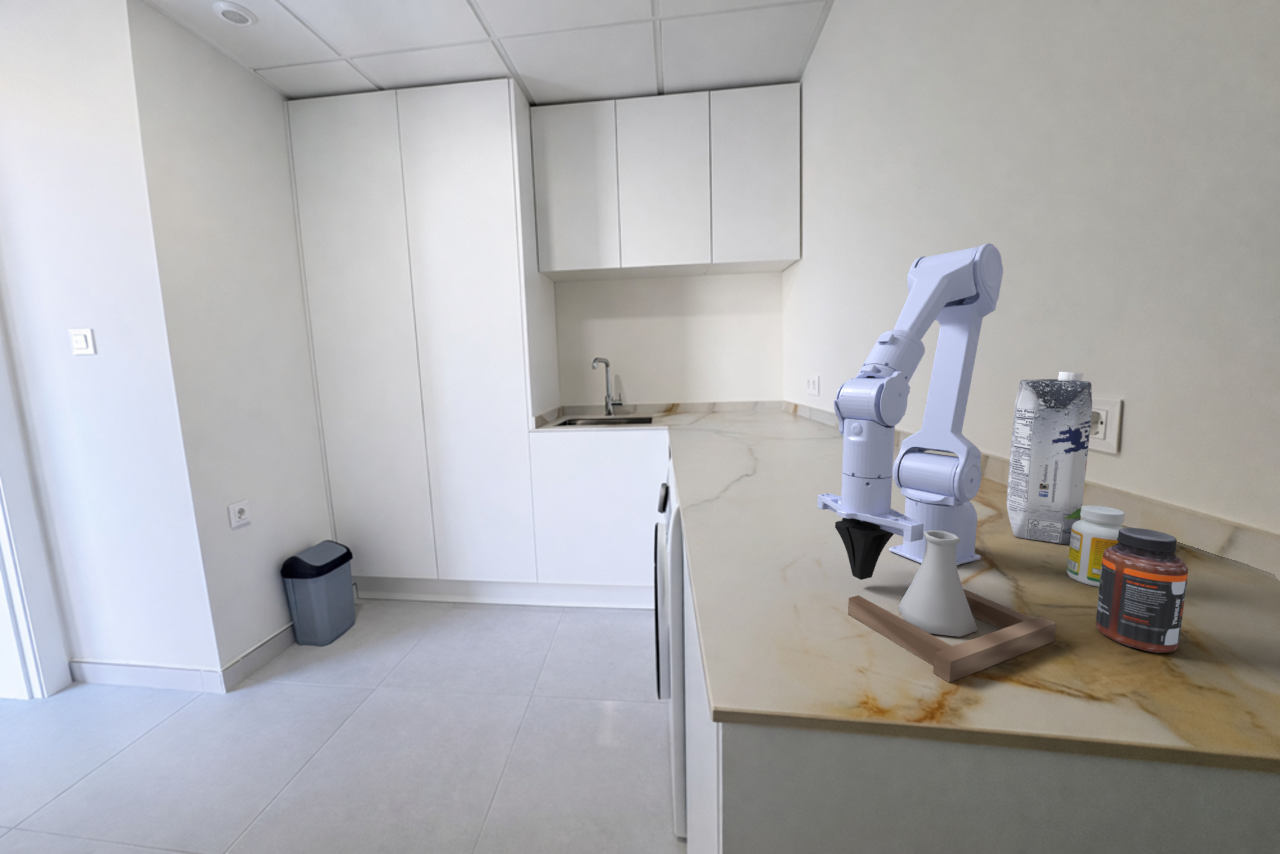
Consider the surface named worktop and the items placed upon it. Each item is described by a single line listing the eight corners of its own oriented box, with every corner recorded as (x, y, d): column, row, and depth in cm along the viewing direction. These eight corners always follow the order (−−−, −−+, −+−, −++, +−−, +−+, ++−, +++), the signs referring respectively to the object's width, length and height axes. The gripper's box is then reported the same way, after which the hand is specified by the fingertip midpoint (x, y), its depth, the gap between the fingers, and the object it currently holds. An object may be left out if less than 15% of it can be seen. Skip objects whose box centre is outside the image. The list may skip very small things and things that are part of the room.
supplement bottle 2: (1196, 660, 45) (1212, 546, 43) (1119, 651, 46) (1132, 541, 45) (1148, 627, 50) (1161, 526, 49) (1081, 620, 52) (1091, 521, 51)
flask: (992, 637, 49) (1000, 545, 48) (926, 640, 49) (932, 548, 47) (943, 603, 56) (949, 522, 55) (885, 606, 56) (889, 525, 55)
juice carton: (1007, 538, 77) (1021, 372, 73) (1003, 520, 85) (1016, 371, 82) (1081, 549, 72) (1100, 372, 68) (1069, 529, 80) (1085, 371, 77)
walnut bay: (937, 589, 60) (938, 574, 59) (1054, 641, 48) (1056, 622, 48) (841, 616, 54) (842, 599, 53) (949, 682, 42) (950, 662, 42)
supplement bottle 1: (1057, 575, 63) (1064, 506, 62) (1081, 568, 65) (1088, 501, 64) (1108, 592, 58) (1116, 517, 57) (1133, 585, 60) (1142, 512, 59)
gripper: (801, 465, 64) (798, 560, 66) (894, 490, 51) (888, 608, 52) (840, 461, 67) (837, 552, 68) (939, 483, 53) (931, 596, 55)
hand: (862, 576), depth 61 cm, fingers closed
